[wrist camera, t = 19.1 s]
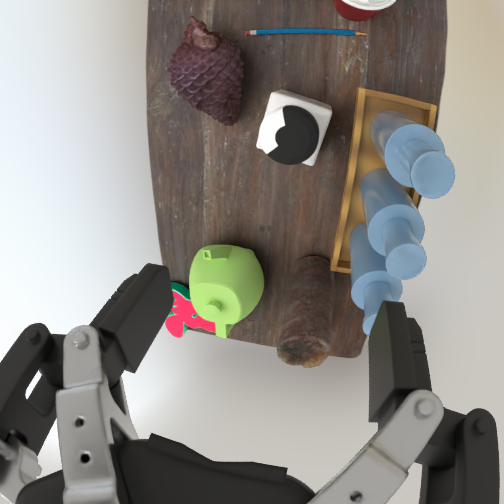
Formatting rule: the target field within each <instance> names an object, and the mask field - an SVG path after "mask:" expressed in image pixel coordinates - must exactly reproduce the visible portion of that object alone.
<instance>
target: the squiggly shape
mask: <svg viewBox="0 0 504 504" xmlns="http://www.w3.org/2000/svg"><path fill="white" fill-rule="evenodd" d="M171 286H172V291H173V296H174V302H173V307H172V312H171V313H170V314H169V315H168V317H167V318H166V320H165V325H166V328H167V329H168V331H169V332H170V333H171V334H172V335H173V336H175V337H178V338H181V337H182V336H183V335H184V333H185V332H186V331H187V329H188V327H190V328H194V329H195V328H198V327H202V328H203V329H205V330H208V331H210V332H215V333H216V327H215V322H211V321H208V320H205V319H203V318H202V317H201V316H199V315H198V313H197V312H196V310H195V309H194V307H193V304H192V301H191V297H190V290H189V289H187V288H186V287H185V286H183V285H181V284H179V283H176V282H171ZM234 325H235V323H234V324H233V326H234Z"/></svg>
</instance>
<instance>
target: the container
mask: <svg viewBox="0 0 504 504" xmlns="http://www.w3.org/2000/svg"><path fill="white" fill-rule="evenodd" d="M331 116H332V108H331V106H330V105H328V104H325V103H322V102H319V101H317V100H314V99H311V98H308V97H305V96H302V95H299V94H295V93H292V92H289V91H286V90H278V91H275V92H272V93H271V95H270V99H269V102H268V106H267V109H266V113H265V116H264V120H263V121H262V123H261V126H260V130H259V137H258V141H257V144H256V146H257V148H259V149H262V150H264V151H265V153H266V154H267V155H268V156H269V157H270V158H272V159H273V160H275V161H276V162H279V163H282V164H287V165H293V164H299V163H304V164H307V165H310V166H313V165H314V163H315V161H316V158H317V155H318V152H319V150H320V147H321V144H322V141H323V138H324V136H325V133H326V130H327V127H328V124H329V122H330V119H331Z"/></svg>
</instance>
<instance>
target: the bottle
mask: <svg viewBox="0 0 504 504" xmlns="http://www.w3.org/2000/svg"><path fill="white" fill-rule="evenodd" d="M369 137H370V140H371V142H372V144H373V146H374V147H375V149H376V151H377V152H378V154H379V156H380V157H381V159H382V161H383V162H384V164H385V166H386V168H387V169H388V171H389V173H390V174H391V176H392V177H393V178H394V179H395V180H396V181H397V182H399V183H400V184H402V185H404V186H407V187H412V188H414V189H415V190H416V191H417V192H418V193H419V194H420V195H421V196H423V197H426V198H431V199H434V198H439V197H441V196H443V195H445V194H446V193H447V192H448V191H449V190H450V189H451V187H452V185H453V183H454V179H455V170H454V166H453V164H452V162H451V160H450V159H449V158H448V157H447V156H446V155H445V149H444V146H443V143H442V141H441V139H440V138H439V136H438V135H437V134H436V133H435V132H434V131H433V130H432V129H430V128H429V127H427V126H425V125H423V124H422V123H420V122H418V121H417V120H415V119H413V118H411V117H409V116H408V115H406V114H404V113H402V112H400V111H397V110H393V109H388V110H383V111H381V112H379V113H378V114H376V115H375V116H374V117H373V119H372V121H371V123H370V126H369Z"/></svg>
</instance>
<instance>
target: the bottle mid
mask: <svg viewBox="0 0 504 504" xmlns="http://www.w3.org/2000/svg"><path fill="white" fill-rule="evenodd" d="M359 194H360V199H361V204H362V209H363V213H364V218H365V224H366V229H367V234H368V239H369V242H370V244H371V246H372V247H373V249H374V250H375V251H376V252H378V253H379V254H381V255H383V256H386V257H385V264H386V269H387V271H388V273H389V274H390V275H391V276H392V277H394V278H396V279H400V280H407V279H411V278H414V277H416V276H417V275H418V274H420V273H421V272H422V270H423V269H424V267H425V265H426V259H427V257H426V254H425V251H424V249H423V247H422V246H421V245H420V243H421V241H422V239H423V236H424V230H425V228H424V222H423V219H422V217H421V215H420V213H419V211H418V210H417V208H416V206H415V204H414V202H413V201H412V199H411V197H410V195H409V194H408V192H407V190H406V188H405V187H404V185H402V184H400V183H399V182H397V181H396V180H395V179H394V178H393V177H392V176H391V174H390V173H389V171H388V169H385V168H377V169H374V170H371V171H369V172H368V173H367V174H365V176H364V177H363V178H362V180H361V182H360V185H359Z"/></svg>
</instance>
